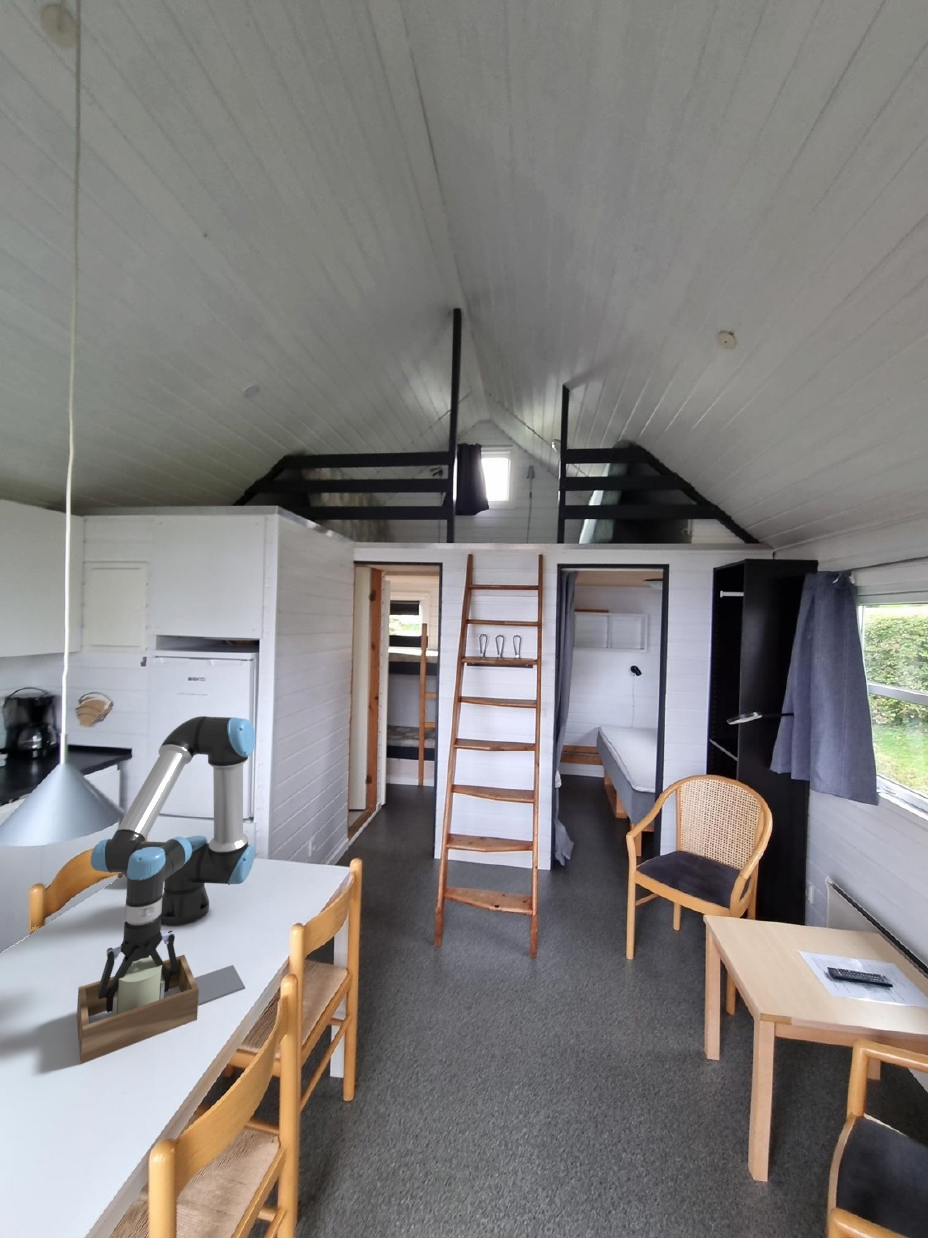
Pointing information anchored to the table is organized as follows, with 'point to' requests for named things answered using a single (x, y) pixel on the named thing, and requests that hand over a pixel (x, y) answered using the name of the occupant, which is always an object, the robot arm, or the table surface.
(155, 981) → the can
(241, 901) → the table surface
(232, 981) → the mat
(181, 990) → the crate
